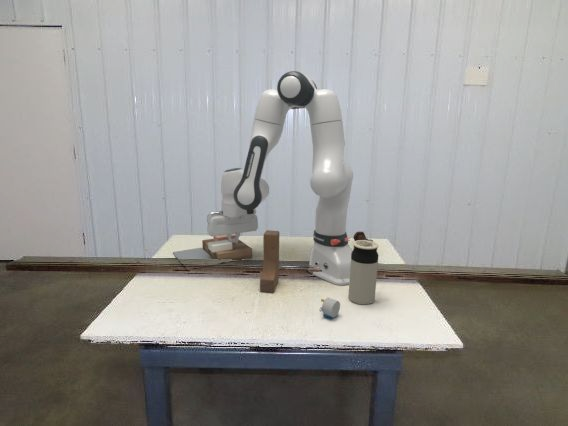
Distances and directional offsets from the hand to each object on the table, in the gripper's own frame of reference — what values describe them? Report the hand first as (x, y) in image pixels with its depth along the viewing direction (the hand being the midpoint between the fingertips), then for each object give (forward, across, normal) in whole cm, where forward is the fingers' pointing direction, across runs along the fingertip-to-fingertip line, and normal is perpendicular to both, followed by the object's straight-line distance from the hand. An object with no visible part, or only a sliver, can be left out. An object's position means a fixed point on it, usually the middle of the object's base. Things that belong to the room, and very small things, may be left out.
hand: (233, 243), depth 146 cm
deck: (+5, -1, +4) cm, 7 cm away
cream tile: (+1, -6, 0) cm, 6 cm away
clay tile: (+1, 0, +9) cm, 9 cm away
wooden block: (+5, 0, -31) cm, 32 cm away
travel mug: (+5, +21, -52) cm, 56 cm away
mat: (+5, -15, +4) cm, 16 cm away
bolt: (+6, +56, -15) cm, 58 cm away
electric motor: (+5, +6, -55) cm, 56 cm away
